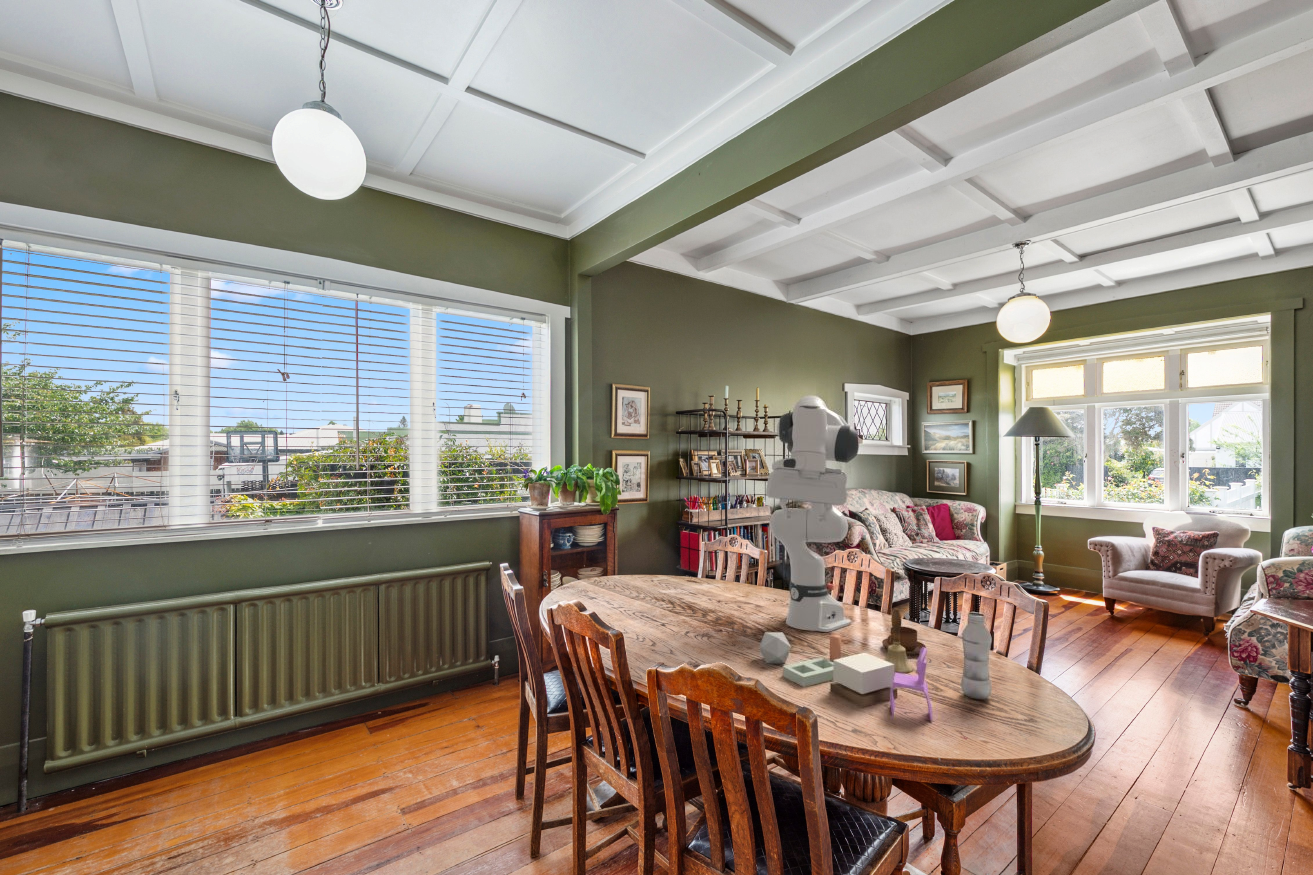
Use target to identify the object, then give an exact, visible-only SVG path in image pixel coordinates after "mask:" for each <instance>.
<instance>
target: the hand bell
mask: <svg viewBox="0 0 1313 875" xmlns="http://www.w3.org/2000/svg"><path fill="white" fill-rule="evenodd" d="M900 612H901V611H900V608H897V607H895V608H893V611H892V613H891V618H890V619H891V621H890V622H891V626H892V627H893V632H894V635H893V638H894V639H893V645H890V646H889V647H888V649H887V653H886V656H885V659H884V660H885V661H887V662H890V663H892V664H894V673H895V672H896V673H902V674H906V673H912V672H913V671H914V666H913V665H912V664H911V663H910V662H909V660H908V657H907V654H906V650H905V648H904V647H902V646H901V645H900V628H901V626H902V616H901V613H900ZM892 627H891V628H892Z"/></svg>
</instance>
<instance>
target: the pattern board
mask: <svg viewBox="0 0 1313 875" xmlns="http://www.w3.org/2000/svg"><path fill="white" fill-rule="evenodd" d="M829 685H830V686H829V688H830V689H829V690H830V692H831V693H832V694H835V695H837V696H838V697H840V698H842V699H845V700H847V701H848V702H851V703H853V704H855V705H856V706H859V707H861V708H865V707H869V706H872V705H876V704H878V703H883V702H886V701H890V691H891V686H889V687H886V688H882V689H879V690H875V691H872V692H868V693H865V694H861V693H859V692H857V691H855V690H852V689H850V688H848V687H846V686H844V685H842V684H840V683H838V682H836V681H833V682H830V684H829ZM893 697H894V699H895V698H898V687H895V688H893Z"/></svg>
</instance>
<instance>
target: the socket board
mask: <svg viewBox="0 0 1313 875" xmlns="http://www.w3.org/2000/svg"><path fill="white" fill-rule="evenodd" d="M782 677H784V678H786V679H788V680H790V681H792V682H793V683H796V684H797V685H800V686H801V687H803V688H806V687H809V686H814V685H818V684H820V683H826V682H829V681H832V680H833V662H831V661H830V659H826V658H824V657H823V656H822V657H818V658H813V659H809V660H804V661H800V662H795V663H791V664H787V665H782ZM833 681H834V680H833Z"/></svg>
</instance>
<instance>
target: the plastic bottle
mask: <svg viewBox="0 0 1313 875" xmlns="http://www.w3.org/2000/svg"><path fill="white" fill-rule="evenodd" d="M967 622H968V623H967V625H966V626H965V627H964V628H963V629H962V632H961V642H962V648H963V667H962V668H963V669H962V676H961V680H960V687H961V691H962V693H963V694H964V695H965V696H966V697H968V698H971V699H975V700H987V699H989V698H990V696H991V694H992V689H993V688H992V683H991V678H990V666H989V664H990V661H989V660H990V651H991V648H992V647H991V645H992V641H993V640H992V639H993V638H992V636H991V633H990V631H989V630H988V628H987V627H986V626H985V624H986V615H985V614H984V613H980V612H975V611H971V612H968V613H967Z"/></svg>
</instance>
